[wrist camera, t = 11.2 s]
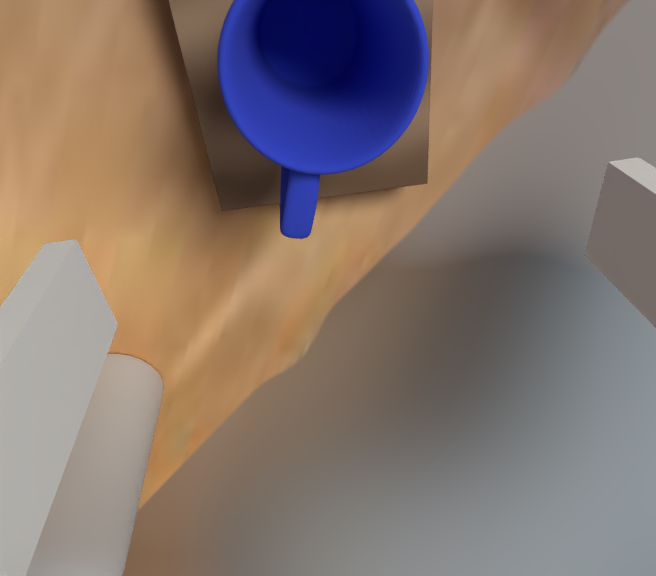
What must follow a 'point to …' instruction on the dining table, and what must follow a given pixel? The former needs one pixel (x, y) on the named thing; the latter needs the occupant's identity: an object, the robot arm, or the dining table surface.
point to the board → (251, 166)
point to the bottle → (103, 475)
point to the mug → (321, 87)
